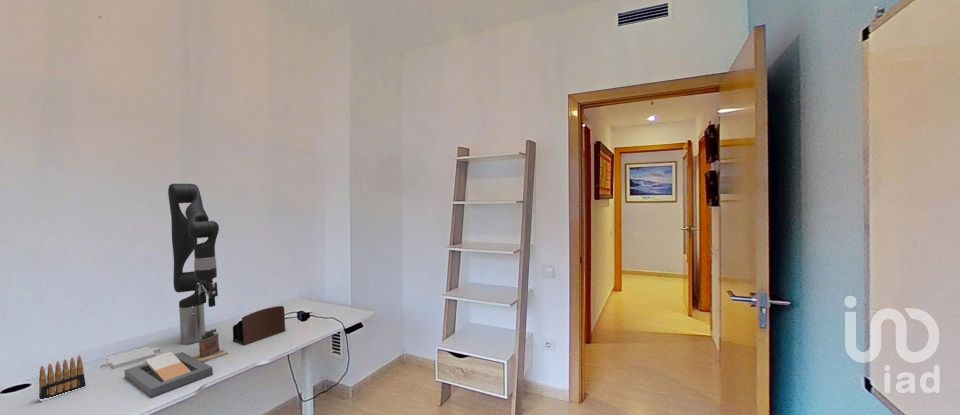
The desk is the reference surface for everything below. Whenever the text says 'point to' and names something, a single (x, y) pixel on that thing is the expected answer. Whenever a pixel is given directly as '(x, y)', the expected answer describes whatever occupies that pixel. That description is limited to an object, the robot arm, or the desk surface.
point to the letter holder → (259, 325)
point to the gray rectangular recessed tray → (155, 386)
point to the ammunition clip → (66, 383)
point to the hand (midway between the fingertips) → (207, 304)
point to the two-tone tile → (167, 366)
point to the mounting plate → (130, 357)
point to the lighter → (208, 343)
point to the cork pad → (210, 356)
